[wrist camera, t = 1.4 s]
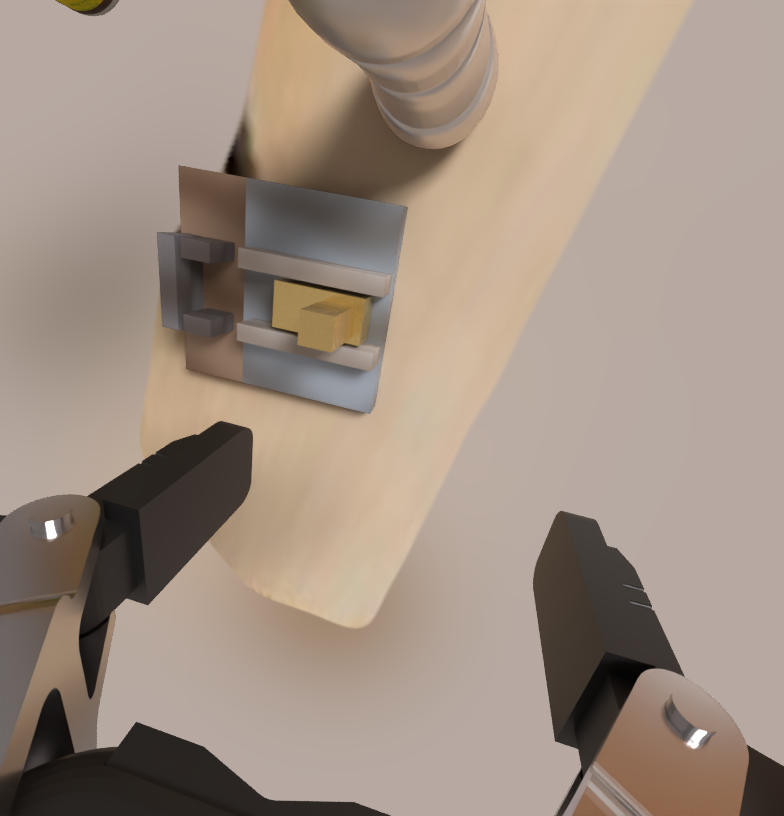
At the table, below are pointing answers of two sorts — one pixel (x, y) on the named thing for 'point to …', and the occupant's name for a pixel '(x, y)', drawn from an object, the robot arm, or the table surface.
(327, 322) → the bolt
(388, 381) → the table surface
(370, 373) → the lock board
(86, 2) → the supplement bottle
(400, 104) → the silver threaded hollow container
